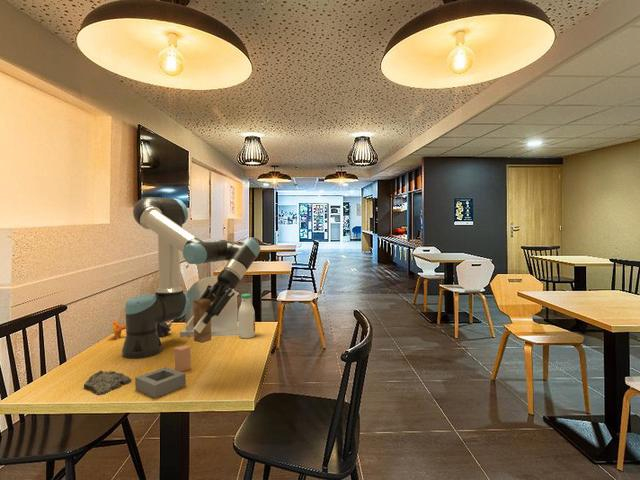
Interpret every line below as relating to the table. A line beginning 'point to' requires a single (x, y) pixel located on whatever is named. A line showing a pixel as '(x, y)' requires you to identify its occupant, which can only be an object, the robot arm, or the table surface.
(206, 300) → the long peg
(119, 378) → the stone slab
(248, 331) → the milk bottle
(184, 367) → the short peg
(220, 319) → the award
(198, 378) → the table surface
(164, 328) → the dragon figurine
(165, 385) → the collar
